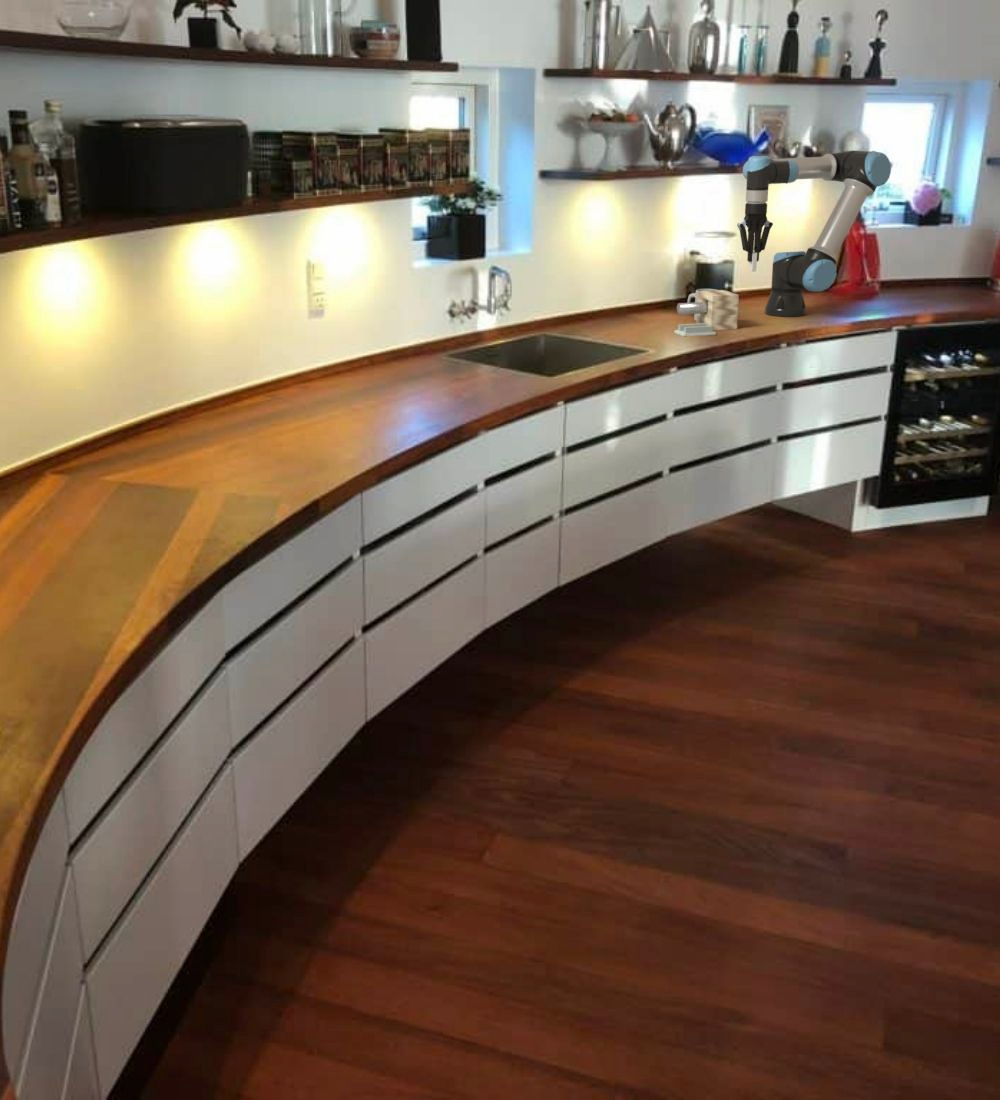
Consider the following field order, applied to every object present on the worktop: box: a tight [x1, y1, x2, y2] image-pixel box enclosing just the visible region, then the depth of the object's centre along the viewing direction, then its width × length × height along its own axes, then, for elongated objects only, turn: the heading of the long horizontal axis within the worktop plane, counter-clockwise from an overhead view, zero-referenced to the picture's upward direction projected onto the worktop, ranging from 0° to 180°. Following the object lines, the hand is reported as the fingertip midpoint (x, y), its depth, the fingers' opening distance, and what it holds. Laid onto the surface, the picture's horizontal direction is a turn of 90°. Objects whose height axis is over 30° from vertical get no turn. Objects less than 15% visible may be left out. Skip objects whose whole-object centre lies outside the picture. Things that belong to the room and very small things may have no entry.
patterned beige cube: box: [696, 289, 740, 331], centre depth 434 cm, size 10×12×12 cm
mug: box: [686, 288, 717, 322], centre depth 448 cm, size 12×8×11 cm
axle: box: [676, 301, 708, 316], centre depth 433 cm, size 22×4×4 cm, turn 106°
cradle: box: [673, 322, 717, 337], centre depth 423 cm, size 12×8×3 cm, turn 106°
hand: (752, 271), depth 432 cm, fingers closed
